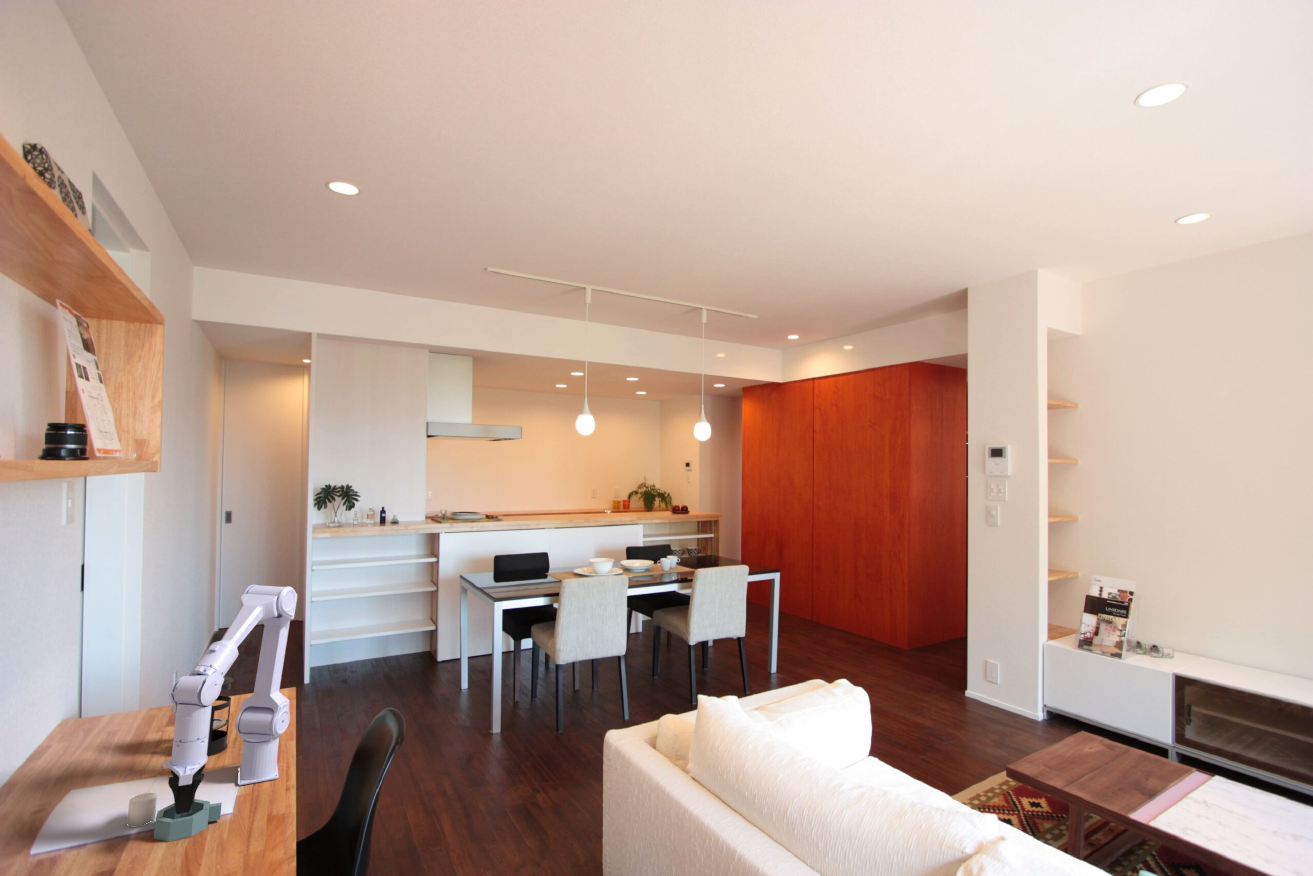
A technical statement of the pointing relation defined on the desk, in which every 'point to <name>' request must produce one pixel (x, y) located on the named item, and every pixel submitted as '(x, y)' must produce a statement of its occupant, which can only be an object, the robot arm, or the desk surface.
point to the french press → (219, 722)
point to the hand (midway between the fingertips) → (183, 808)
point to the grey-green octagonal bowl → (185, 820)
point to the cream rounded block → (142, 809)
